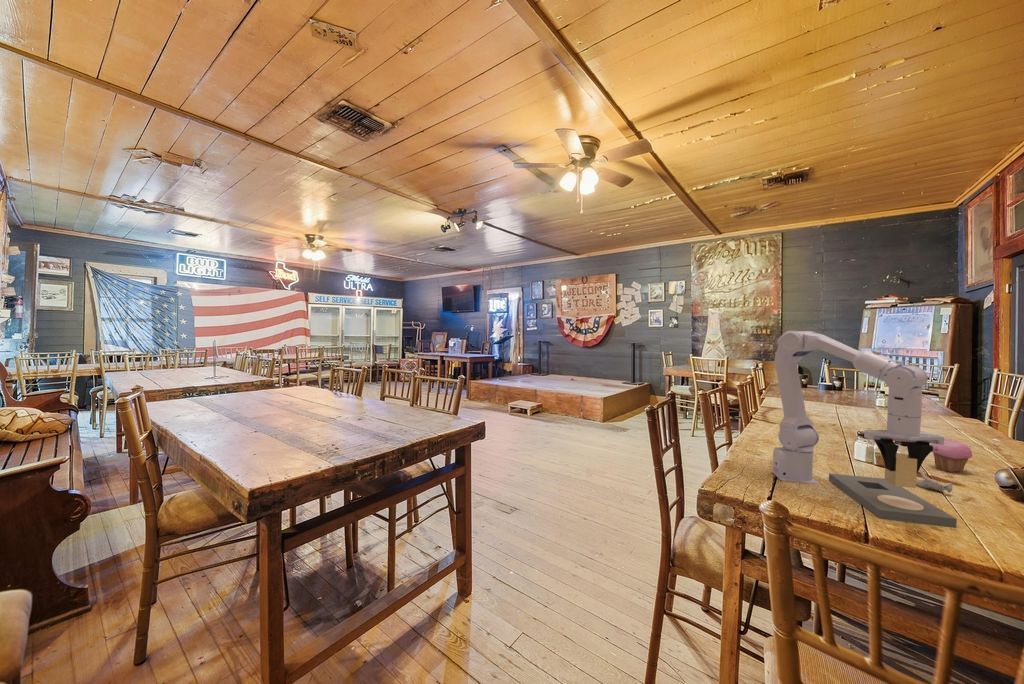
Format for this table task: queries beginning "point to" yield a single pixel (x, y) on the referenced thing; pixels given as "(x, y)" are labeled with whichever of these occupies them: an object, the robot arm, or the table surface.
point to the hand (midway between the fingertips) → (901, 470)
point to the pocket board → (891, 500)
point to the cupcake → (951, 455)
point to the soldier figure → (932, 483)
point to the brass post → (903, 471)
